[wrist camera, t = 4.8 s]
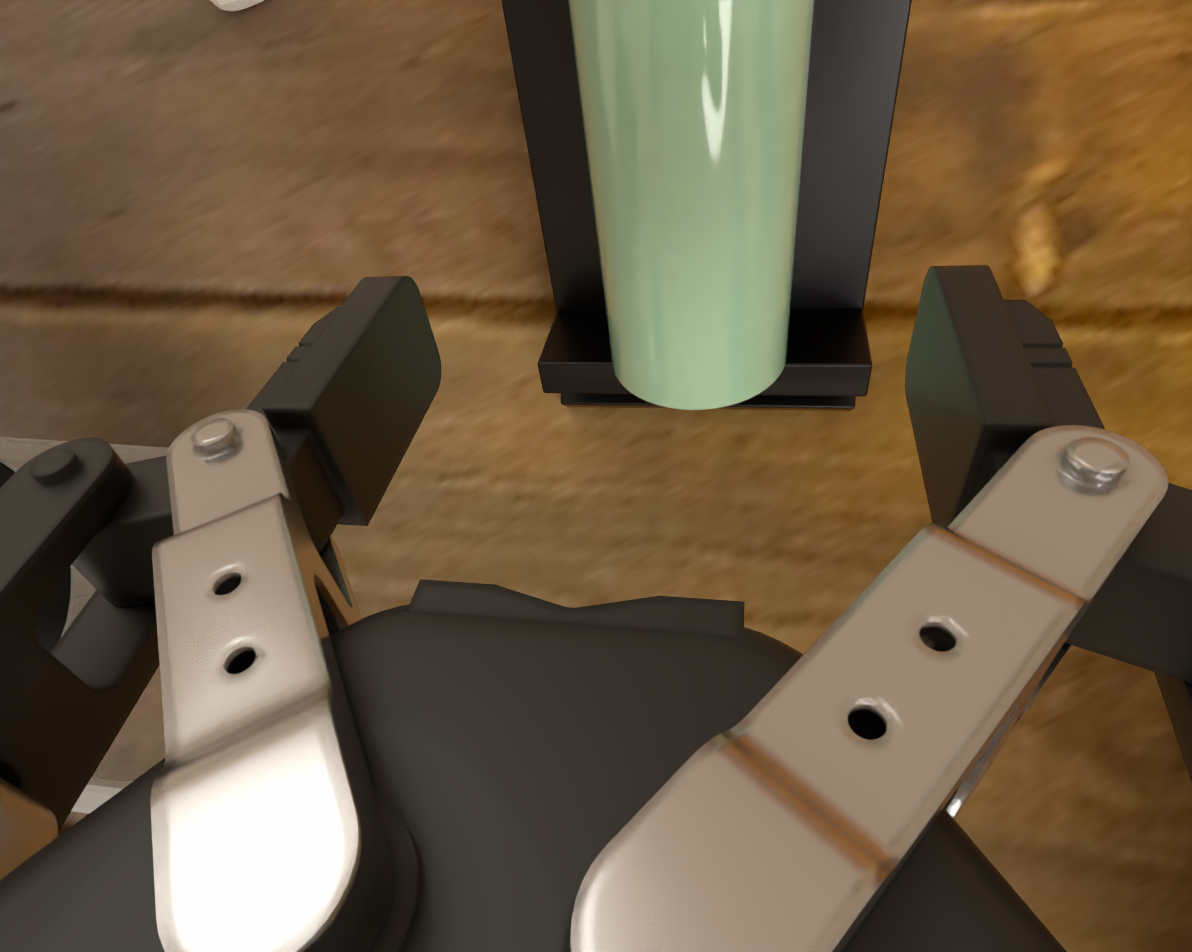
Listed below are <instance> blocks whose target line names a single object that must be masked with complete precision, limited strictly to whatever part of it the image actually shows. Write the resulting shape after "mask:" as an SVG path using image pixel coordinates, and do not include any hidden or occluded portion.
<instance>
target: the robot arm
mask: <svg viewBox="0 0 1192 952" xmlns="http://www.w3.org/2000/svg"><path fill="white" fill-rule="evenodd" d="M1062 346H1063V342H1062V340H1061V338H1060V336H1059V334H1058V332H1057V330H1056V328H1055V326H1054V324H1053V322H1052V320H1051V319H1049V318H1048V317H1047V316H1046V315H1044V314H1043V313H1042V312H1040V311H1039V310H1038V309H1036V308H1035V307H1034V306H1033V305H1031V304H1030V303H1029V302H1027V301H1026V300H1003V297H1002V295H1001V293H1000V290H999V288H998V286H997V283H996V281H995V279H994V276H993V274H992V271H991V269H990V267H989V266H987V265H968V266H932V267H930V268H929V270H928V272H927V274H926V277H925V280H924V284H923V289H922V294H921V298H920V303H919V307H918V312H917V316H916V321H915V326H914V330H913V335H912V339H911V344H910V348H909V353H908V358H907V365H906V377H905V389H906V398H907V403H908V408H909V413H910V417H911V422H912V427H913V432H914V437H915V441H916V446H917V451H918V456H919V460H920V465H921V470H922V475H923V480H924V484H925V489H926V494H927V499H928V503H929V508H930V513H931V518H932V523H930V524H928V525H926V526H925V527H924V528H923V529H922V530H921V531H920V532H919V533H918V534H917V535H916V536H915V537H914V538H913V539H912V540H911V541H910V542H909V543H908V544H907V545H906V546H905V547H904V548H903V550H902V551H901V552H900V553H899V554H898V555H897V556H896V557H895V558H894V559H893V560H892V561H891V562H890V563H889V564H888V565H887V567H886V568H885V569H884V570H883V571H882V572H881V573H880V574H879V575H878V576H877V577H876V578H875V579H874V580H873V581H872V583H871V584H870V585H869V586H868V587H867V588H866V589H865V590H864V591H863V592H862V593H861V594H860V595H859V596H858V597H857V599H856V600H855V601H854V602H853V603H852V604H851V605H850V606H849V607H848V608H847V609H846V610H845V611H844V612H843V613H842V614H841V616H840V617H839V618H838V619H837V620H836V621H835V622H834V623H833V624H832V625H831V626H830V627H829V628H828V629H827V630H826V632H825V633H824V634H823V635H822V636H821V637H820V638H819V639H818V640H817V641H816V642H815V643H814V644H813V645H812V646H811V648H810V649H809V650H808V651H807V652H806V653H805V654H804V655H803V654H801V653H800V652H798V651H796V650H795V649H793V648H791V647H789V646H788V645H786V644H784V643H782V642H781V641H779V640H776V639H774V638H772V637H770V636H767V635H765V634H763V633H760V632H757V631H754V630H751V629H748V628H745V627H744V602H740V601H726V600H711V599H697V598H682V597H668V596H655V597H648V598H641V599H635V600H628V601H621V602H614V603H607V604H600V605H593V606H587V607H580V608H568V607H564V606H560V605H557V604H554V603H551V602H548V601H544V600H541V599H538V598H535V597H532V596H529V595H526V594H522V593H519V592H516V591H513V590H510V589H507V588H504V587H500V586H497V585H493V584H478V583H464V582H449V581H435V580H420V581H419V584H418V586H417V588H416V591H415V593H414V596H413V598H412V600H411V603H410V604H408V605H403V606H399V607H395V608H392V609H388V610H384V611H381V612H379V613H376V614H373V615H370V616H368V617H365V618H363V619H362V618H361V615H360V612H359V609H358V606H357V603H356V600H355V597H354V594H353V591H352V588H351V585H350V582H349V580H348V577H347V574H346V571H345V568H344V565H343V562H342V559H341V556H340V553H339V550H338V547H337V545H336V543H335V542H334V540H333V538H332V536H331V534H332V532H333V530H334V529H335V527H336V525H337V524H344V525H363V526H368V524H369V522H370V520H371V518H372V516H373V514H374V512H375V510H376V508H377V507H378V505H379V503H380V501H381V499H382V497H383V495H384V493H385V491H386V489H387V487H388V485H389V483H390V482H391V480H392V478H393V476H394V474H395V472H396V470H397V468H398V466H399V464H400V462H401V460H402V458H403V456H404V455H405V453H406V451H407V449H408V447H409V445H410V443H411V441H412V439H413V437H414V435H415V433H416V431H417V429H418V428H419V426H420V424H421V422H422V420H423V418H424V416H425V414H426V412H427V410H428V408H429V406H430V404H431V403H432V401H433V399H434V397H435V395H436V393H437V391H438V388H439V385H440V380H441V360H440V355H439V352H438V349H437V345H436V342H435V339H434V336H433V333H432V330H431V327H430V323H429V320H428V317H427V314H426V311H425V308H424V305H423V301H422V298H421V295H420V292H419V289H418V287H417V285H416V283H415V282H414V280H413V279H412V278H410V277H408V276H393V277H365V278H363V279H362V280H361V281H360V282H359V283H358V285H357V286H356V287H355V289H354V290H353V291H352V293H351V294H350V295H349V296H348V298H347V299H346V300H345V302H344V303H343V304H342V306H341V307H337V308H336V309H335V310H333V311H332V312H330V313H329V314H327V315H326V316H324V317H323V318H322V319H320V320H319V321H317V322H316V323H314V324H313V325H312V327H311V328H310V329H309V331H308V332H307V333H306V334H305V336H304V337H303V338H302V339H301V341H300V342H299V347H295V348H294V349H293V351H292V352H291V353H290V354H289V356H288V357H287V358H286V359H287V362H283V363H282V364H281V366H280V367H279V368H278V370H277V371H276V372H275V373H274V375H273V376H272V377H271V378H270V380H269V381H268V382H267V383H266V385H265V386H264V387H263V388H262V390H261V391H260V392H259V393H258V395H257V396H256V397H255V398H254V400H253V401H252V402H251V403H250V405H249V406H248V407H247V409H236V410H228V411H224V412H220V413H217V414H214V415H211V416H209V417H206V418H204V419H202V420H200V421H198V422H196V423H195V424H193V425H191V426H190V427H188V428H187V429H186V430H184V431H183V432H182V433H181V434H180V435H179V436H178V437H177V438H176V439H175V440H174V441H173V442H172V444H171V445H170V447H169V449H168V452H167V455H166V456H161V457H156V458H151V459H146V460H141V461H136V462H131V463H126V464H125V463H124V462H123V461H122V460H121V458H120V457H119V456H118V454H117V453H116V452H115V451H114V449H113V448H112V447H111V445H110V444H109V443H108V442H106V441H104V440H102V439H97V438H83V439H77V440H72V441H69V442H65V443H62V444H59V445H57V446H54V447H52V448H50V449H48V450H46V451H44V452H42V453H40V454H38V455H37V456H35V457H34V458H32V459H31V460H29V461H28V462H27V463H25V464H24V465H23V466H22V467H21V468H20V469H18V470H17V471H16V472H15V473H14V474H13V475H12V476H11V477H10V478H9V480H8V481H7V482H6V483H5V484H4V485H3V486H2V487H1V488H0V952H1066V950H1065V949H1064V948H1063V947H1062V946H1061V945H1060V943H1059V942H1058V941H1057V940H1056V939H1055V937H1054V936H1053V935H1052V934H1051V933H1050V932H1049V930H1048V929H1047V928H1046V927H1045V926H1044V925H1043V923H1042V922H1041V921H1040V920H1039V919H1038V918H1037V916H1036V915H1035V914H1034V913H1033V912H1032V910H1031V909H1030V908H1029V907H1028V906H1027V905H1026V903H1025V902H1024V901H1023V900H1022V899H1021V898H1020V896H1019V895H1018V894H1017V893H1016V892H1015V890H1014V889H1013V888H1012V887H1011V886H1010V885H1009V883H1008V882H1007V881H1006V880H1005V879H1004V878H1003V876H1002V875H1001V874H1000V873H999V872H998V871H997V869H996V868H995V867H994V866H993V865H992V863H991V862H990V861H989V860H988V859H987V858H986V856H985V855H984V854H983V853H982V852H981V851H980V849H979V848H978V847H977V846H976V845H975V843H974V842H973V841H972V840H971V839H970V838H969V836H968V835H967V834H966V833H965V832H964V831H963V829H962V828H961V827H960V826H959V825H958V824H957V822H956V821H955V820H954V819H955V818H956V816H957V815H958V813H959V812H960V810H961V809H962V807H963V806H964V805H965V803H966V802H967V800H968V799H969V797H970V796H971V794H972V793H973V791H974V790H975V788H976V787H977V785H978V784H979V782H980V781H981V779H982V778H983V776H984V775H985V773H986V772H987V770H988V768H989V767H990V765H991V764H992V762H993V761H994V759H995V758H996V756H997V754H998V753H999V751H1000V750H1001V748H1002V747H1003V745H1004V744H1005V742H1006V741H1007V739H1008V738H1009V737H1010V735H1011V734H1012V732H1013V731H1014V729H1015V728H1016V726H1017V725H1018V724H1019V722H1020V721H1021V719H1022V718H1023V716H1024V715H1025V713H1026V712H1027V711H1028V709H1029V708H1030V706H1031V705H1032V703H1033V702H1034V701H1035V699H1036V698H1037V696H1038V695H1039V693H1040V692H1041V690H1042V689H1043V688H1044V686H1045V685H1046V683H1047V682H1048V680H1049V679H1050V677H1051V676H1052V675H1053V673H1054V672H1055V670H1056V669H1057V667H1058V666H1059V665H1060V663H1061V662H1062V660H1063V659H1064V657H1065V656H1066V654H1067V653H1068V652H1069V650H1070V649H1071V647H1072V646H1073V645H1074V646H1077V647H1080V648H1083V649H1086V650H1089V651H1093V652H1096V653H1099V654H1102V655H1105V656H1108V657H1111V658H1114V659H1117V660H1120V661H1123V662H1126V663H1129V664H1133V665H1136V666H1139V667H1142V668H1145V669H1148V670H1151V671H1154V672H1155V675H1156V678H1157V681H1158V684H1159V687H1160V690H1161V693H1162V696H1163V699H1164V702H1165V705H1166V708H1167V710H1168V713H1169V716H1170V719H1171V722H1172V725H1173V728H1174V731H1175V734H1176V737H1177V740H1178V743H1179V746H1180V749H1181V752H1182V755H1183V758H1184V760H1185V763H1186V766H1187V769H1188V772H1189V775H1190V778H1191V781H1192V490H1190V489H1186V488H1183V487H1179V486H1176V485H1174V484H1171V483H1168V477H1167V473H1166V471H1165V469H1164V467H1163V465H1162V464H1161V463H1160V461H1159V460H1158V459H1157V458H1156V457H1155V456H1154V455H1153V454H1152V453H1151V452H1150V451H1148V450H1147V449H1146V448H1144V447H1143V446H1141V445H1140V444H1138V443H1136V442H1135V441H1133V440H1131V439H1129V438H1127V437H1125V436H1122V435H1120V434H1117V433H1114V432H1111V431H1108V430H1105V428H1104V426H1103V424H1102V422H1101V420H1100V418H1099V416H1098V414H1097V412H1096V410H1095V407H1094V405H1093V403H1092V401H1091V399H1090V397H1089V395H1088V393H1087V391H1086V389H1085V387H1084V385H1083V383H1082V381H1081V379H1080V377H1079V375H1078V373H1077V371H1076V369H1075V368H1072V361H1071V359H1070V357H1069V355H1068V353H1067V351H1066V349H1065V348H1062ZM71 565H73V566H74V567H75V568H76V569H77V570H78V571H79V572H80V573H81V574H82V575H83V576H84V577H85V578H86V579H87V580H88V581H89V582H90V583H91V584H92V585H93V586H94V587H95V588H96V589H97V590H96V591H95V592H94V594H93V595H92V596H91V598H90V599H89V600H88V602H87V603H86V605H85V606H84V607H83V609H82V610H81V611H80V613H79V614H78V615H77V617H76V618H75V620H74V621H73V622H72V624H71V625H70V626H69V628H68V629H67V630H66V632H65V633H64V635H63V636H62V637H61V639H60V640H59V641H58V643H57V644H56V645H55V647H54V648H53V649H52V651H51V652H48V651H47V650H46V649H45V648H44V647H43V646H41V645H40V644H39V642H38V641H37V639H36V637H35V635H34V630H33V622H34V617H35V614H36V611H37V609H38V607H39V606H40V604H41V603H42V602H43V600H44V599H45V598H46V597H47V595H48V594H49V593H50V592H51V590H52V589H53V588H54V586H55V585H56V584H57V583H58V581H59V580H60V579H61V578H62V576H63V575H64V574H65V573H66V571H67V570H68V569H69V567H70V566H71ZM159 665H160V677H161V691H162V705H163V720H164V734H165V749H166V758H164V759H163V760H162V761H160V762H159V763H157V764H156V765H155V766H153V767H152V768H151V769H149V770H148V771H147V772H145V773H144V774H143V775H141V776H140V777H138V778H137V779H136V780H134V781H133V782H132V783H130V784H129V785H128V786H126V787H125V788H123V789H122V790H121V791H119V792H118V793H117V794H115V795H114V796H113V797H111V798H110V799H109V800H107V801H106V802H104V803H103V804H102V805H100V806H99V807H98V808H96V809H95V810H94V811H92V812H91V813H90V814H88V815H87V816H85V817H84V818H83V819H81V820H80V821H79V822H77V823H76V824H75V825H73V826H72V827H71V828H69V829H68V830H66V831H65V832H64V833H62V834H61V835H60V836H58V837H57V835H58V832H59V830H60V828H61V827H62V825H63V824H64V822H65V820H66V819H67V817H68V815H69V814H70V812H71V810H72V809H73V807H74V805H75V804H76V802H77V800H78V799H79V797H80V795H81V794H82V792H83V790H84V789H85V787H86V785H87V784H88V782H89V780H90V779H91V777H92V776H93V774H94V772H95V771H96V769H97V767H98V766H99V764H100V762H101V761H102V759H103V757H104V756H105V754H106V752H107V751H108V749H109V747H110V746H111V744H112V742H113V741H114V739H115V737H116V736H117V734H118V732H119V731H120V729H121V728H122V726H123V724H124V723H125V721H126V719H127V718H128V716H129V714H130V713H131V711H132V709H133V708H134V706H135V704H136V703H137V701H138V699H139V698H140V696H141V694H142V693H143V691H144V689H145V688H146V686H147V684H148V683H149V681H150V680H151V678H152V676H153V675H154V673H155V671H156V670H157V668H158V666H159Z"/></svg>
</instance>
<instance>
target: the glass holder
mask: <svg viewBox="0 0 1192 952" xmlns="http://www.w3.org/2000/svg"><path fill="white" fill-rule="evenodd" d="M65 442H69V441H57V440H41V439H26V438H10V437H0V488H1V487H2V486H3V485H4V484H5V483H6V482H7V481H8V480H9V478H10V477H11V476H12V475H13V474H14V473H15V472H16V471H17V470H18V469H20V468H21V467H22V466H23V465H24V464H25V463H27V462H28V461H29V460H31V459H32V458H34V457H35V456H37V455H38V454H40V453H42V452H44V451H46V450H48V449H50V448H52V447H54V446H57V445H59V444H62V443H65ZM110 445H111V447H112V448H113V449H114V451H115V452H116V453H117V454H118V456H119V457H120V458H121V460H122V461H123V462H124V463H125V464H126V463H131V462H136V461H141V460H146V459H151V458H156V457H161V456H166V455H167V452H168V449H169V448H167V447H151V446H135V445H120V444H110ZM96 590H97V589H96V588H95V587H94V586H93V585H92V584H91V583H90V582H89V581H88V580H87V579H86V578H85V577H84V576H83V575H82V574H81V573H80V572H79V571H78V570H77V569H76V568H75V567H74V566H73V565H71V566H70V567H69V569H68V570H67V571H66V573H65V574H64V575H63V576H62V578H61V579H60V580H59V581H58V583H57V584H56V585H55V586H54V588H53V589H52V590H51V592H50V593H49V594H48V595H47V597H46V598H45V599H44V600H43V602H42V603H41V604H40V606H39V607H38V609H37V611H36V614H35V617H34V622H33V630H34V635H35V637H36V639H37V641H38V642H39V644H40V645H41V646H43V647H44V648H45V649H46V650H47V651H48V652H51V651H52V649H53V648H54V647H55V645H56V644H57V643H58V641H59V640H60V639H61V637H62V636H63V635H64V633H65V632H66V630H67V629H68V628H69V626H70V625H71V624H72V622H73V621H74V620H75V618H76V617H77V615H78V614H79V613H80V611H81V610H82V609H83V607H84V606H85V605H86V603H87V602H88V600H89V599H90V598H91V596H92V595H93V594H94V592H95V591H96ZM133 781H134V780H132V781H123V782H120V781H113V780H106V779H99V778H91V779H90V780H89V782H88V784H87V785H86V787H85V789H84V790H83V792H82V794H81V795H80V797H79V799H78V800H77V802H76V804H75V805H74V807H73V809H72V810H71V811H73V812H82V813H91V812H92V811H94V810H95V809H96V808H98V807H99V806H100V805H102V804H103V803H104V802H106V801H107V800H109V799H110V798H111V797H113V796H114V795H115V794H117V793H118V792H119V791H121V790H122V789H123V788H125V787H126V786H128V785H129V784H130V783H132V782H133Z"/></svg>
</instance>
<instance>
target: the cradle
mask: <svg viewBox="0 0 1192 952" xmlns="http://www.w3.org/2000/svg"><path fill="white" fill-rule="evenodd" d="M911 2H912V0H814V11H813V23H812V36H811V49H810V62H809V74H808V87H807V100H806V113H805V125H804V138H803V151H802V163H801V176H800V189H799V202H798V214H797V227H796V240H795V253H794V265H793V278H792V291H791V304H790V316H789V329H788V342H787V354H786V363H785V366H784V369H783V370H782V372H781V374H780V376H779V377H778V378H777V379H776V380H775V382H774V383H773V384H772V385H770V386H769V387H768V388H767V389H766V390H764V391H763V392H761V393H760V394H758V395H756V396H754V397H752V398H750V399H748V400H745V401H743V402H740V403H737V404H733V405H730V406H726V407H721V408H715V409H758V410H827V411H850V410H852V409H854V407H855V396H866V395H867V392H868V387H869V381H870V376H871V370H872V360H871V354H870V348H869V342H868V337H867V331H866V325H865V319H864V313H863V306H864V300H865V293H866V287H867V281H868V274H869V268H870V262H871V255H872V249H873V243H874V236H875V230H876V224H877V217H878V211H879V205H880V198H881V192H882V186H883V179H884V173H885V167H886V160H887V154H888V148H889V141H890V135H891V129H892V122H893V116H894V110H895V103H896V97H897V91H898V84H899V78H900V72H901V65H902V59H903V53H904V46H905V40H906V34H907V27H908V21H909V15H910V8H911ZM502 6H503V12H504V17H505V23H506V29H507V34H508V40H509V46H510V51H511V57H512V63H513V68H514V74H515V80H516V85H517V91H518V97H519V102H520V108H521V114H522V119H523V125H524V131H525V136H526V142H527V148H528V153H529V159H530V165H531V170H532V176H533V182H534V187H535V193H536V199H537V204H538V210H539V216H540V221H541V227H542V233H543V238H544V244H545V250H546V255H547V261H548V267H549V272H550V278H551V284H552V289H553V295H554V301H555V306H556V312H557V314H556V316H555V319H554V322H553V324H552V327H551V330H550V332H549V335H548V338H547V340H546V343H545V346H544V348H543V351H542V354H541V356H540V359H539V362H538V369H539V374H540V378H541V383H542V388H543V392H544V393H561V404H562V405H565V406H567V407H621V408H667V407H663V406H659V405H655V404H652V403H650V402H647V401H645V400H643V399H640V398H638V397H637V396H635V395H634V394H632V393H630V392H629V391H628V390H627V389H626V388H625V387H624V386H623V385H622V384H621V383H620V382H619V380H618V378H617V377H616V375H615V372H614V369H613V363H612V355H611V347H610V339H609V331H608V323H607V315H606V306H605V298H604V290H603V282H602V274H601V266H600V258H599V249H598V241H597V233H596V225H595V217H594V209H593V200H592V192H591V184H590V176H589V168H588V160H587V152H586V143H585V135H584V127H583V119H582V111H581V103H580V95H579V86H578V78H577V70H576V62H575V54H574V46H573V38H572V29H571V21H570V13H569V5H568V0H502Z"/></svg>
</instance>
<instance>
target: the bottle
mask: <svg viewBox="0 0 1192 952" xmlns="http://www.w3.org/2000/svg"><path fill="white" fill-rule="evenodd" d="M568 5H569V13H570V21H571V29H572V38H573V46H574V54H575V62H576V70H577V78H578V86H579V95H580V103H581V111H582V119H583V127H584V135H585V143H586V152H587V160H588V168H589V176H590V184H591V192H592V200H593V209H594V217H595V225H596V233H597V241H598V249H599V258H600V266H601V274H602V282H603V290H604V298H605V306H606V315H607V323H608V331H609V339H610V347H611V355H612V363H613V369H614V372H615V375H616V377H617V378H618V380H619V382H620V383H621V384H622V385H623V386H624V387H625V388H626V389H627V390H628V391H629V392H630V393H632V394H634V395H635V396H637V397H638V398H640V399H643V400H645V401H647V402H650V403H652V404H655V405H659V406H663V407H667V408H674V409H682V410H706V409H715V408H721V407H726V406H730V405H733V404H737V403H740V402H743V401H745V400H748V399H750V398H752V397H754V396H756V395H758V394H760V393H761V392H763V391H764V390H766V389H767V388H768V387H769V386H770V385H772V384H773V383H774V382H775V380H776V379H777V378H778V377H779V376H780V374H781V372H782V370H783V369H784V366H785V363H786V354H787V342H788V329H789V316H790V304H791V291H792V278H793V265H794V253H795V240H796V227H797V214H798V202H799V189H800V176H801V163H802V151H803V138H804V125H805V113H806V100H807V87H808V74H809V62H810V49H811V36H812V23H813V11H814V0H568Z"/></svg>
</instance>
